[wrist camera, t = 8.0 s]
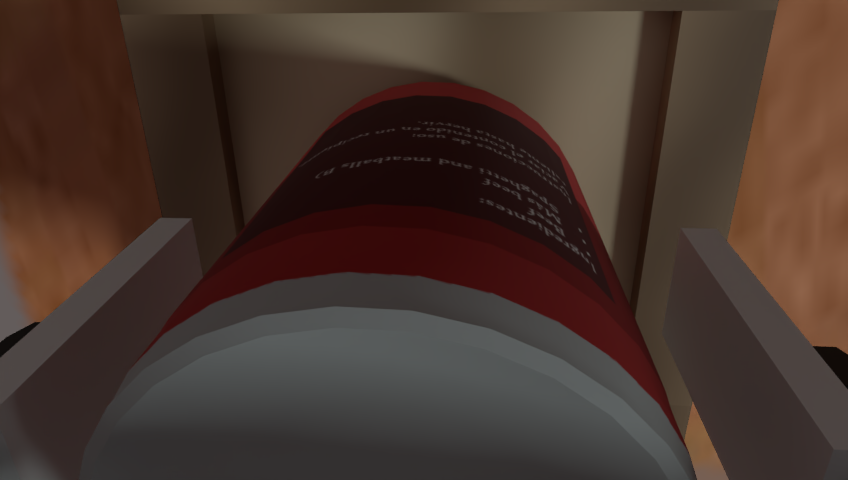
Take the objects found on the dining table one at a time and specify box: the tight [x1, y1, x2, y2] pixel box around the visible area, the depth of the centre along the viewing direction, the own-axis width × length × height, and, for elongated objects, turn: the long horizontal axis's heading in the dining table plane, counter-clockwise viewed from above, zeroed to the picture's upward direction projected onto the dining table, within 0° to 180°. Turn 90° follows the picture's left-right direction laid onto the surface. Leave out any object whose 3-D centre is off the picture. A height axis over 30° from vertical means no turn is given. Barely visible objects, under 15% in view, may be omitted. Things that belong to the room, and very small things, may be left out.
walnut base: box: [117, 0, 779, 440], centre depth 18 cm, size 15×15×4 cm
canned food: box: [79, 82, 697, 480], centre depth 12 cm, size 8×8×11 cm
